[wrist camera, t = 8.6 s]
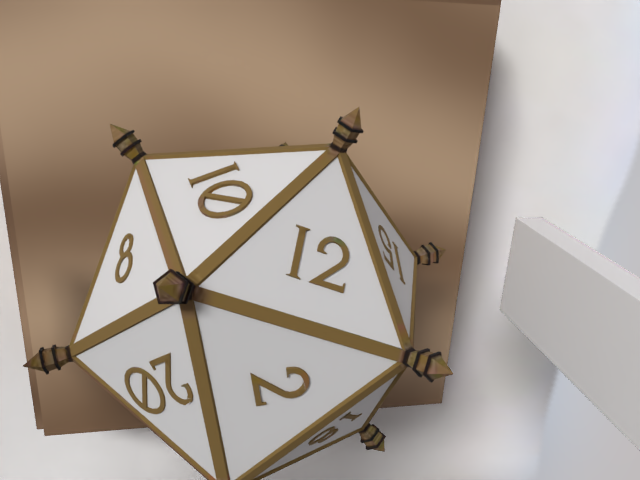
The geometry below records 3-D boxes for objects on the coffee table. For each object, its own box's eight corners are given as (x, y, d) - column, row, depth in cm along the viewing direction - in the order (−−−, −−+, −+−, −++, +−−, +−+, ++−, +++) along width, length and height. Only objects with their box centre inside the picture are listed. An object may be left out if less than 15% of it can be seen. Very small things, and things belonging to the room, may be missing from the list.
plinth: (415, 353, 25) (452, 413, 21) (56, 376, 22) (29, 450, 18) (460, -11, 20) (520, -14, 16) (2, -40, 17) (-49, -51, 13)
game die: (239, 253, 21) (175, 569, 16) (53, 81, 15) (-157, 492, 10) (489, 194, 18) (524, 586, 12) (371, -65, 12) (329, 476, 6)
